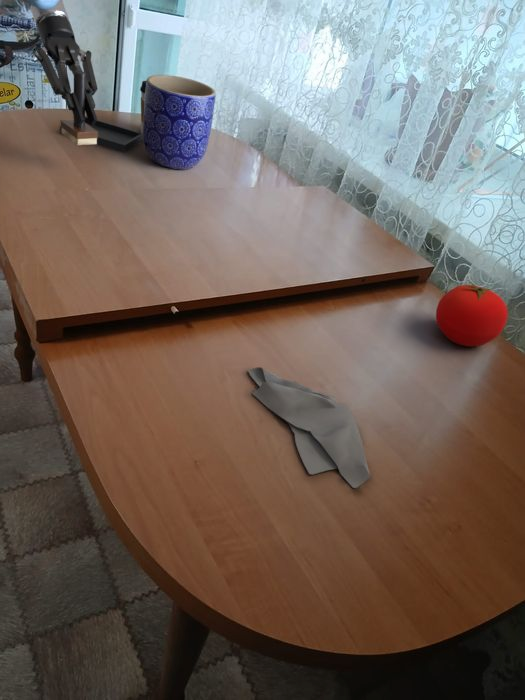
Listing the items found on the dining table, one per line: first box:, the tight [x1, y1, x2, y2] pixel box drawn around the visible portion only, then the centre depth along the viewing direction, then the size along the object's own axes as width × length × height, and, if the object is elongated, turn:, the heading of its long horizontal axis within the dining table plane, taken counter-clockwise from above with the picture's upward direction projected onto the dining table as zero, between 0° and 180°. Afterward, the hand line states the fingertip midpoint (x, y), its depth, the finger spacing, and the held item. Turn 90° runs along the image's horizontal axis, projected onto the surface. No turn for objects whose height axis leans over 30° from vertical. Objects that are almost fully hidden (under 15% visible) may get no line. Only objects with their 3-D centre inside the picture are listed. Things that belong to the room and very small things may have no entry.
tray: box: [59, 115, 144, 153], centre depth 159 cm, size 20×14×2 cm
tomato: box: [435, 280, 509, 347], centre depth 109 cm, size 12×14×11 cm
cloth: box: [247, 366, 371, 490], centre depth 83 cm, size 26×14×2 cm, turn 27°
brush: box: [59, 70, 98, 146], centre depth 128 cm, size 8×5×15 cm, turn 42°
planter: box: [143, 74, 217, 170], centre depth 149 cm, size 18×18×21 cm
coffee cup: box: [139, 80, 147, 133], centre depth 165 cm, size 8×8×15 cm
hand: (87, 122), depth 128 cm, fingers closed on brush, 3 cm apart
